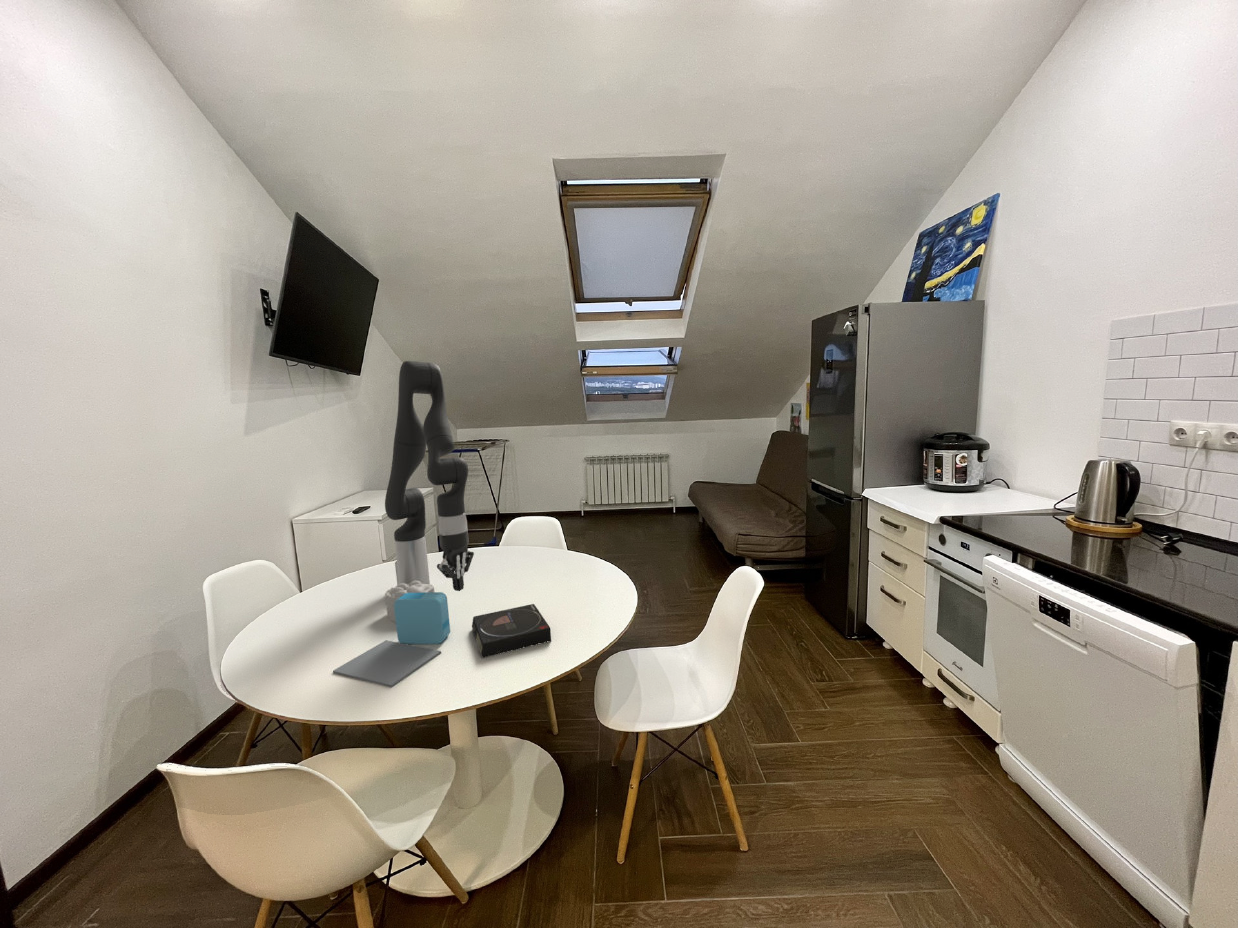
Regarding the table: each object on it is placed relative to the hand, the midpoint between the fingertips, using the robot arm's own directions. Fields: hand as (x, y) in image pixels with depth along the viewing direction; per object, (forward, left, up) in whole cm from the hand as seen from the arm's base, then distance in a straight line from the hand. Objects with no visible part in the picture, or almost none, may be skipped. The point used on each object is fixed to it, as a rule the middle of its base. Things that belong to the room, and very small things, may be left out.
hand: (458, 589), depth 138 cm
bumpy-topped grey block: (-16, -3, -8) cm, 18 cm away
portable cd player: (+20, -5, -9) cm, 22 cm away
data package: (0, -14, -8) cm, 16 cm away
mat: (0, -25, -8) cm, 27 cm away
